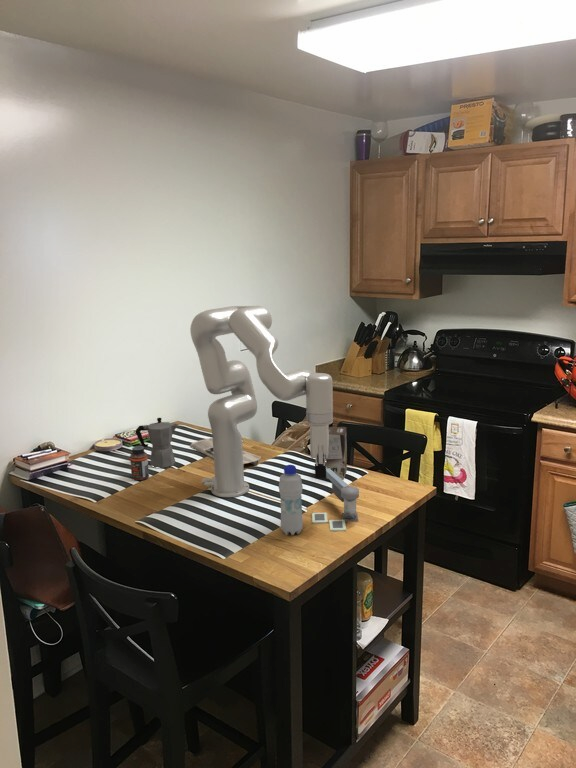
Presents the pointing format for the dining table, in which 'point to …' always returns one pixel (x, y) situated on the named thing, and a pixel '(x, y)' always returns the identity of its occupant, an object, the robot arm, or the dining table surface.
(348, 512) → the post
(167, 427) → the coffeepot
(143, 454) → the supplement bottle
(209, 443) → the newspaper
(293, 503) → the bottle
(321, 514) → the label tile
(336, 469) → the coffee box
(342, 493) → the bar
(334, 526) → the label tile
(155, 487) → the dining table surface
